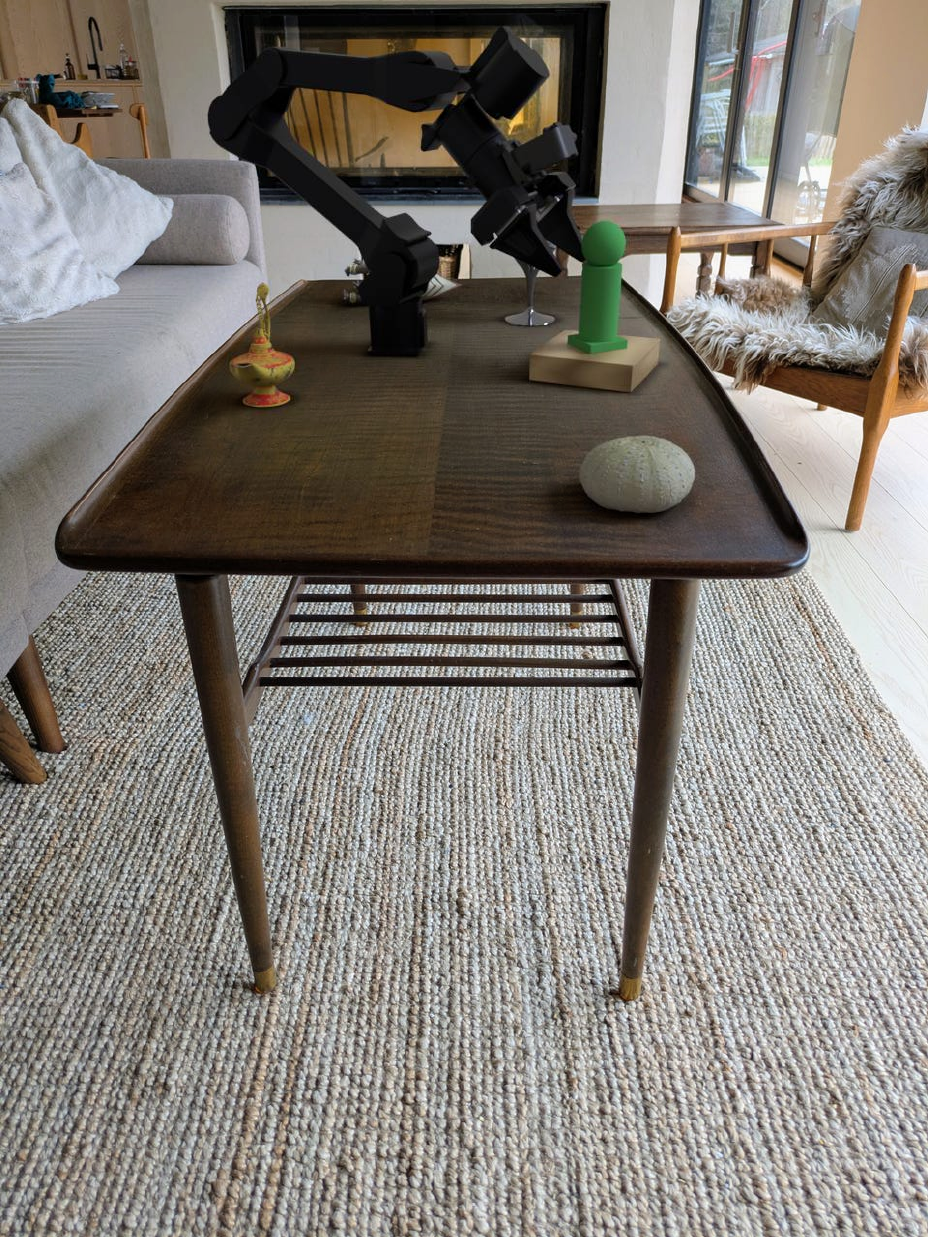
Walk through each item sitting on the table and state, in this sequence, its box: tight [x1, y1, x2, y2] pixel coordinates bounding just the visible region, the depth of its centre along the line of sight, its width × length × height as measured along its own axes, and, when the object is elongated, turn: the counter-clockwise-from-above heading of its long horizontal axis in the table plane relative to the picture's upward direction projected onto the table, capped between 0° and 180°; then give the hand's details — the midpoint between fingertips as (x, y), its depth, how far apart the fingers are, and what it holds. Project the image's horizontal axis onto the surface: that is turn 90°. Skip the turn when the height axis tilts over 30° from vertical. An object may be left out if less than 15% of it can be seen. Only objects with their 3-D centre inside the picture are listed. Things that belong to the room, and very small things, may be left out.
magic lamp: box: [229, 282, 296, 408], centre depth 94 cm, size 7×18×11 cm, turn 2°
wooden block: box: [528, 329, 661, 393], centre depth 105 cm, size 12×12×3 cm
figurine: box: [343, 258, 462, 304], centre depth 138 cm, size 20×6×17 cm
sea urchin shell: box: [578, 435, 696, 514], centre depth 74 cm, size 9×8×8 cm
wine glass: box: [504, 239, 557, 327], centre depth 124 cm, size 8×8×15 cm
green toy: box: [568, 220, 628, 354], centre depth 101 cm, size 5×5×13 cm
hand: (572, 266), depth 101 cm, fingers open, 9 cm apart
